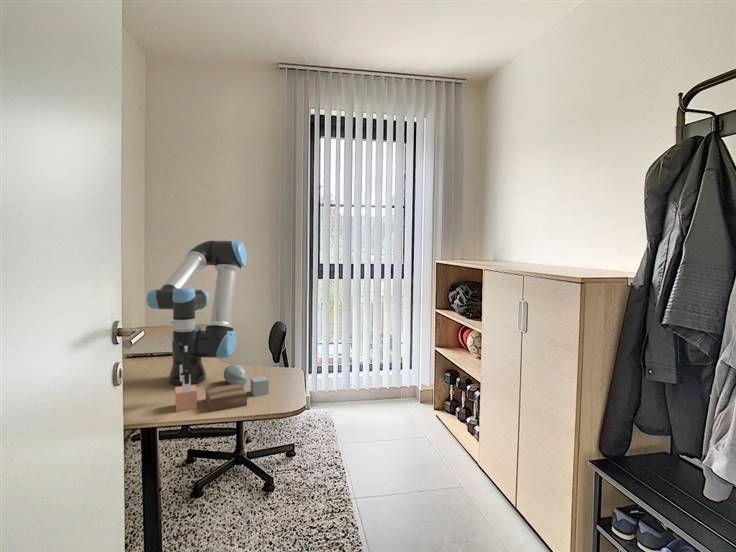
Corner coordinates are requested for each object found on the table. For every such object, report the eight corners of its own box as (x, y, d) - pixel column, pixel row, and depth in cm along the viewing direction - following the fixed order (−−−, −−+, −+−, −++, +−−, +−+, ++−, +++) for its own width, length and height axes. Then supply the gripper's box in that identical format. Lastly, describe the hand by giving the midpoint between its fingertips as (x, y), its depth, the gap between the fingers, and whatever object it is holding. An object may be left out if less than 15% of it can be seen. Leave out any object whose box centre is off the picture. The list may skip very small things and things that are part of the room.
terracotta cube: (175, 405, 162) (175, 387, 161) (195, 402, 165) (194, 384, 164) (176, 412, 155) (176, 393, 155) (197, 408, 159) (196, 390, 158)
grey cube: (250, 391, 177) (250, 377, 176) (265, 389, 179) (265, 375, 179) (253, 396, 171) (253, 382, 171) (268, 394, 174) (268, 380, 174)
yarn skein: (216, 374, 188) (228, 355, 187) (236, 380, 193) (247, 361, 192) (221, 391, 176) (234, 371, 176) (242, 397, 181) (254, 377, 181)
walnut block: (205, 400, 167) (205, 388, 167) (239, 395, 173) (239, 383, 173) (210, 412, 156) (210, 399, 155) (247, 406, 162) (246, 393, 162)
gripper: (171, 324, 167) (172, 378, 168) (175, 337, 145) (176, 398, 146) (192, 323, 170) (192, 375, 172) (198, 335, 148) (199, 395, 149)
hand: (185, 386), depth 159 cm, fingers open, 13 cm apart
